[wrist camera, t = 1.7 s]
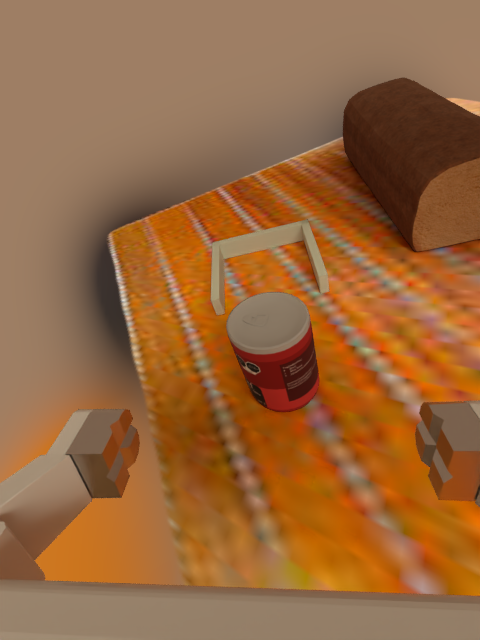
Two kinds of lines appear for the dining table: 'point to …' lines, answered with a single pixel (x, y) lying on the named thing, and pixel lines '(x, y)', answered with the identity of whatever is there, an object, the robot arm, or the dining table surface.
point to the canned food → (275, 349)
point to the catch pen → (258, 243)
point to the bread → (417, 160)
